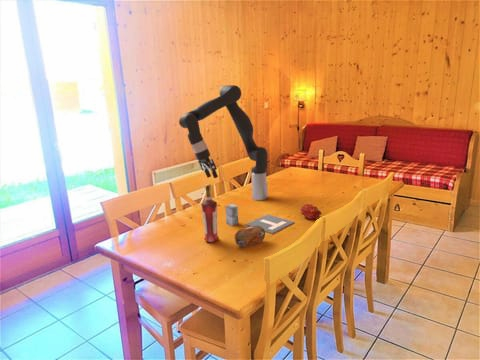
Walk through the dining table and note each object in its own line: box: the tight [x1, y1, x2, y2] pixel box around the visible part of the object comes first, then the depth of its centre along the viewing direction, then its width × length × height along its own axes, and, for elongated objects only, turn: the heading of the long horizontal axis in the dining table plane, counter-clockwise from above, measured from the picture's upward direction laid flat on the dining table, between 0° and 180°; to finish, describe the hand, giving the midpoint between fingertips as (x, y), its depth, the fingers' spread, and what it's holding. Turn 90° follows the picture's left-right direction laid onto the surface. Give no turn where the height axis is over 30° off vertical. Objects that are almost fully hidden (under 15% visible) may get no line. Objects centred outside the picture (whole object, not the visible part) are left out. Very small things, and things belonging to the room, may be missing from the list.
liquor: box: [201, 183, 219, 243], centre depth 174 cm, size 7×7×28 cm
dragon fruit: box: [300, 203, 323, 221], centre depth 198 cm, size 8×8×12 cm
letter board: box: [245, 214, 295, 235], centre depth 194 cm, size 18×18×1 cm
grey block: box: [225, 203, 239, 227], centre depth 195 cm, size 4×4×10 cm
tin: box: [234, 225, 266, 248], centre depth 171 cm, size 15×3×8 cm, turn 117°
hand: (212, 177), depth 199 cm, fingers open, 8 cm apart
